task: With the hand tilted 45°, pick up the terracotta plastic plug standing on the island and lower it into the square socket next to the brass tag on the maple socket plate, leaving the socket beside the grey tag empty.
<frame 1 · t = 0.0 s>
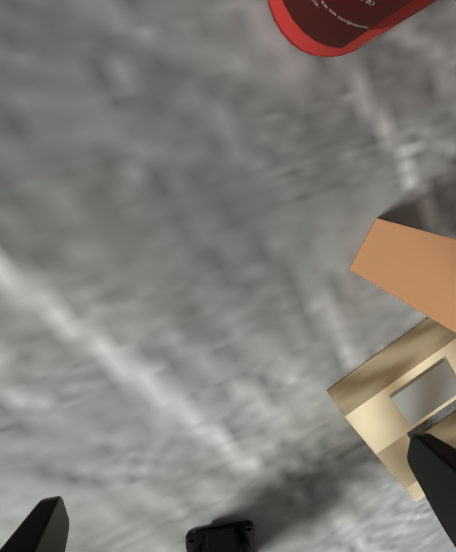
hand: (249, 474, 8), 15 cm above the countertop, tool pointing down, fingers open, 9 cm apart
plug: (384, 253, 23), on the countertop
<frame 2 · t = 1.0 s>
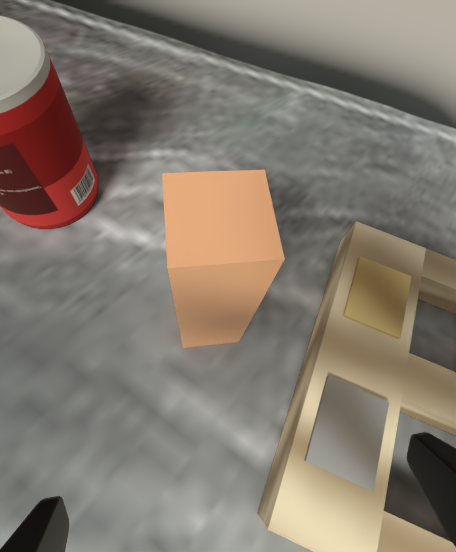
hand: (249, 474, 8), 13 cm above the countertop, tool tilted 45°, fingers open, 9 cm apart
socket plate: (429, 339, 24), on the countertop
plug: (208, 317, 23), on the countertop
canned food: (54, 193, 27), on the countertop
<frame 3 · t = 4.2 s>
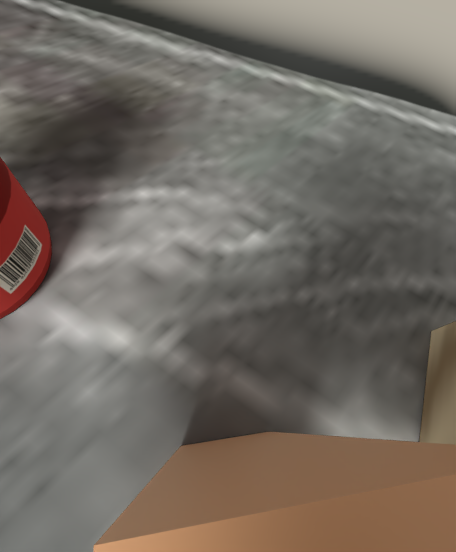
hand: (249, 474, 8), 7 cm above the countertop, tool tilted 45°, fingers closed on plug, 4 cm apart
plug: (232, 491, 13), on the countertop, touching gripper
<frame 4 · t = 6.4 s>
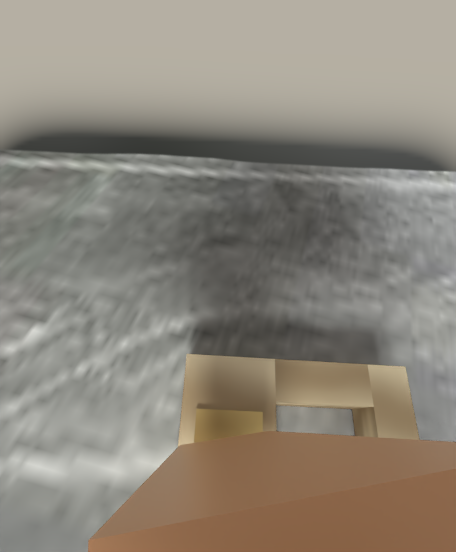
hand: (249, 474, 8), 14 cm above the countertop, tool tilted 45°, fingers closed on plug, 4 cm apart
socket plate: (312, 457, 20), on the countertop
plug: (231, 490, 13), point 7 cm above the countertop, touching gripper
when the fingers open (8 cm above the countertop, at t = 8.9 s): plug drops 1 cm, resting in socket plate.
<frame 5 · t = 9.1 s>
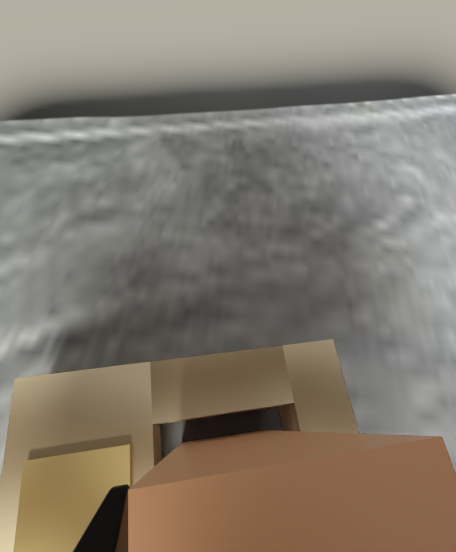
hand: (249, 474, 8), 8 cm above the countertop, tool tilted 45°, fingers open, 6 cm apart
socket plate: (229, 485, 15), on the countertop
plug: (228, 483, 15), resting in socket plate
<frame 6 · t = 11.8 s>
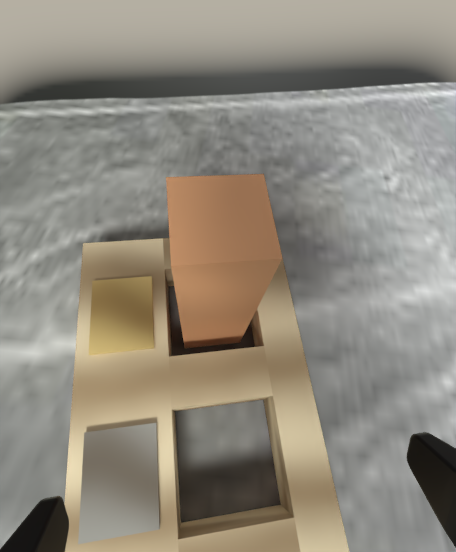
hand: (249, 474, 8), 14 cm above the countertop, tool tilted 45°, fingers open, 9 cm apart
socket plate: (210, 319, 24), on the countertop
plug: (209, 319, 24), resting in socket plate
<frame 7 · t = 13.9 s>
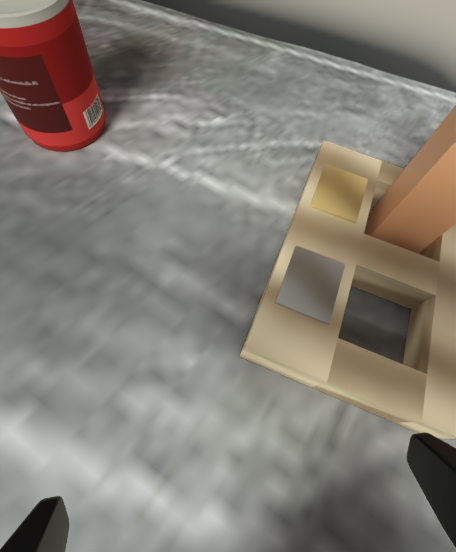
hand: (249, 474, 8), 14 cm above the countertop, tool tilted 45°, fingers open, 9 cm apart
socket plate: (386, 238, 28), on the countertop
plug: (386, 237, 29), resting in socket plate
canned food: (67, 126, 31), on the countertop
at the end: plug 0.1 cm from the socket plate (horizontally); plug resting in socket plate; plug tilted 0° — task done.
